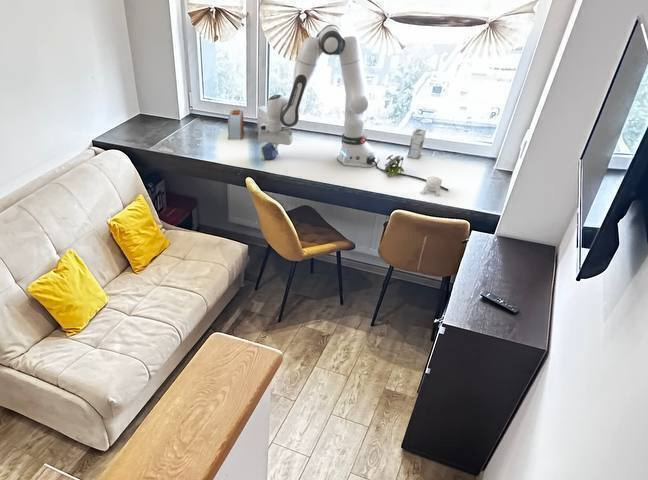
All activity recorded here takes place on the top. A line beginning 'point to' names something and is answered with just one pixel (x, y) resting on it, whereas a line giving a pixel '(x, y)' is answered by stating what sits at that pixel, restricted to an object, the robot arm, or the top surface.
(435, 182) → the white lumpy piece
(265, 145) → the dark blue cube
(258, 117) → the skincare box
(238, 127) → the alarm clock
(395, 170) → the passion flower
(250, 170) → the top surface
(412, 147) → the syrup box
